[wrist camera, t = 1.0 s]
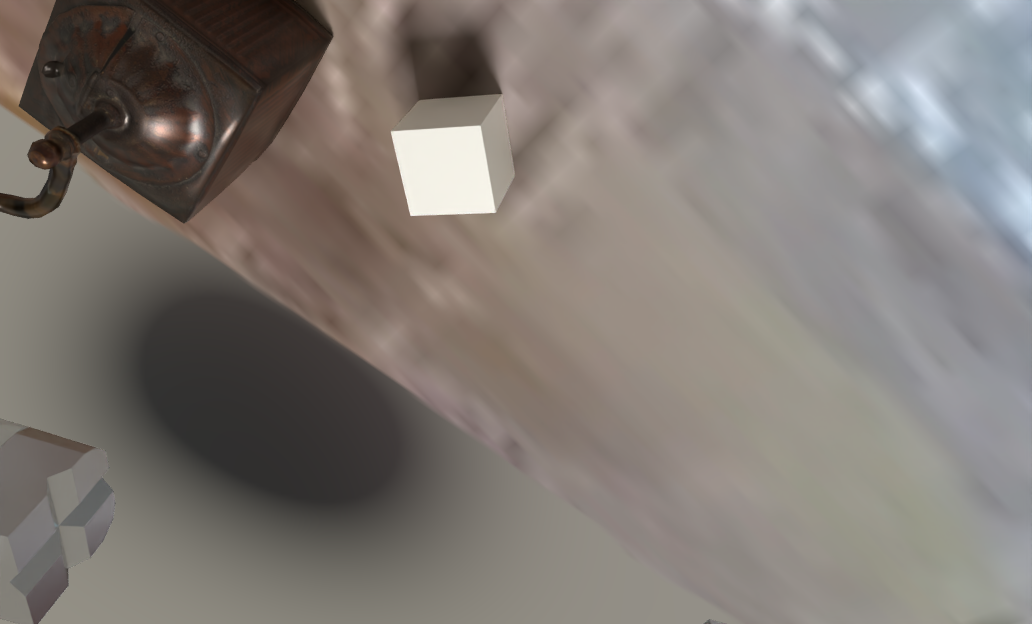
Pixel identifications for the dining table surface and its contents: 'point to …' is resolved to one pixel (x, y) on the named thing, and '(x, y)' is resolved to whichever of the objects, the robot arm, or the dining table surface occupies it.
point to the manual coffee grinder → (165, 94)
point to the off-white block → (454, 155)
